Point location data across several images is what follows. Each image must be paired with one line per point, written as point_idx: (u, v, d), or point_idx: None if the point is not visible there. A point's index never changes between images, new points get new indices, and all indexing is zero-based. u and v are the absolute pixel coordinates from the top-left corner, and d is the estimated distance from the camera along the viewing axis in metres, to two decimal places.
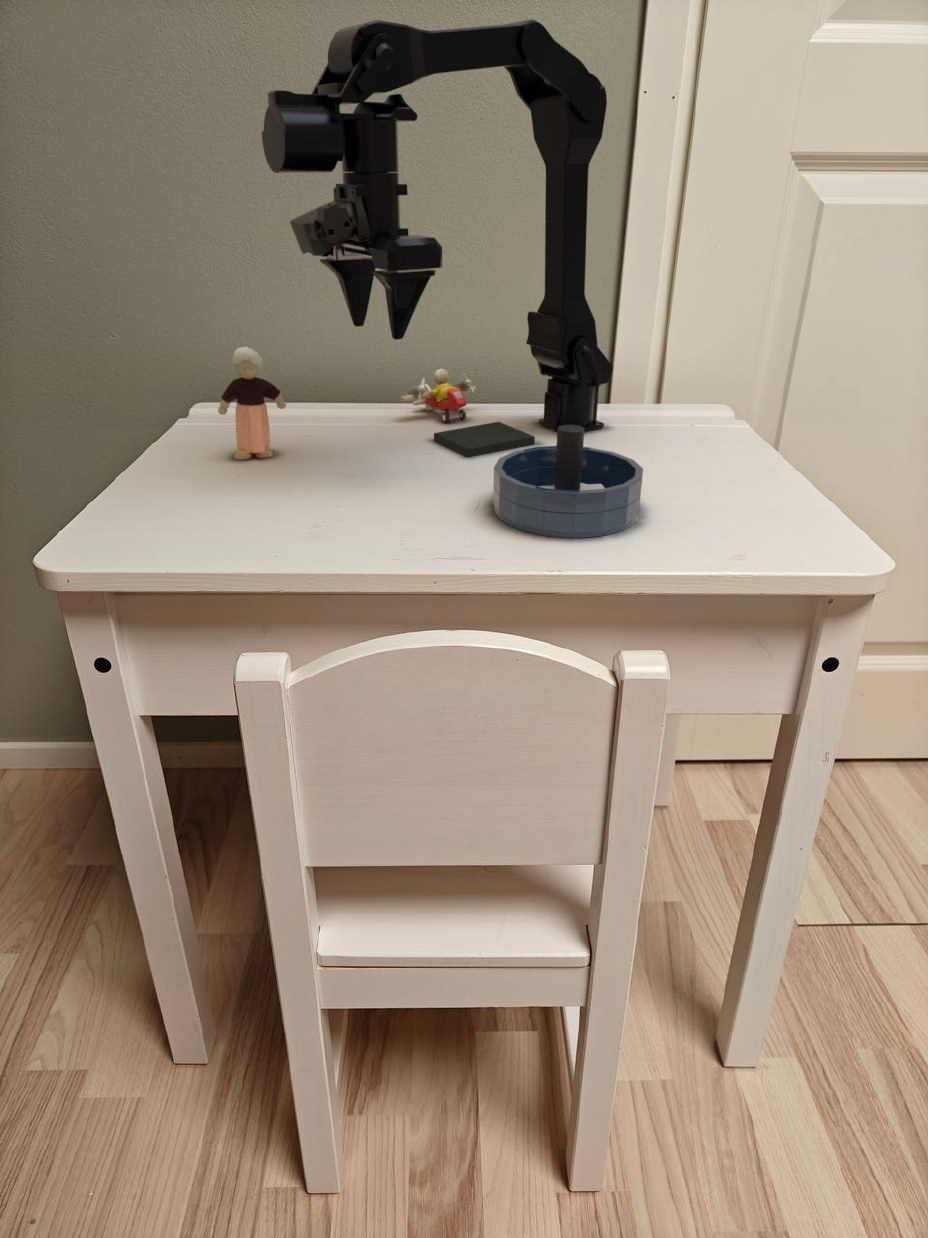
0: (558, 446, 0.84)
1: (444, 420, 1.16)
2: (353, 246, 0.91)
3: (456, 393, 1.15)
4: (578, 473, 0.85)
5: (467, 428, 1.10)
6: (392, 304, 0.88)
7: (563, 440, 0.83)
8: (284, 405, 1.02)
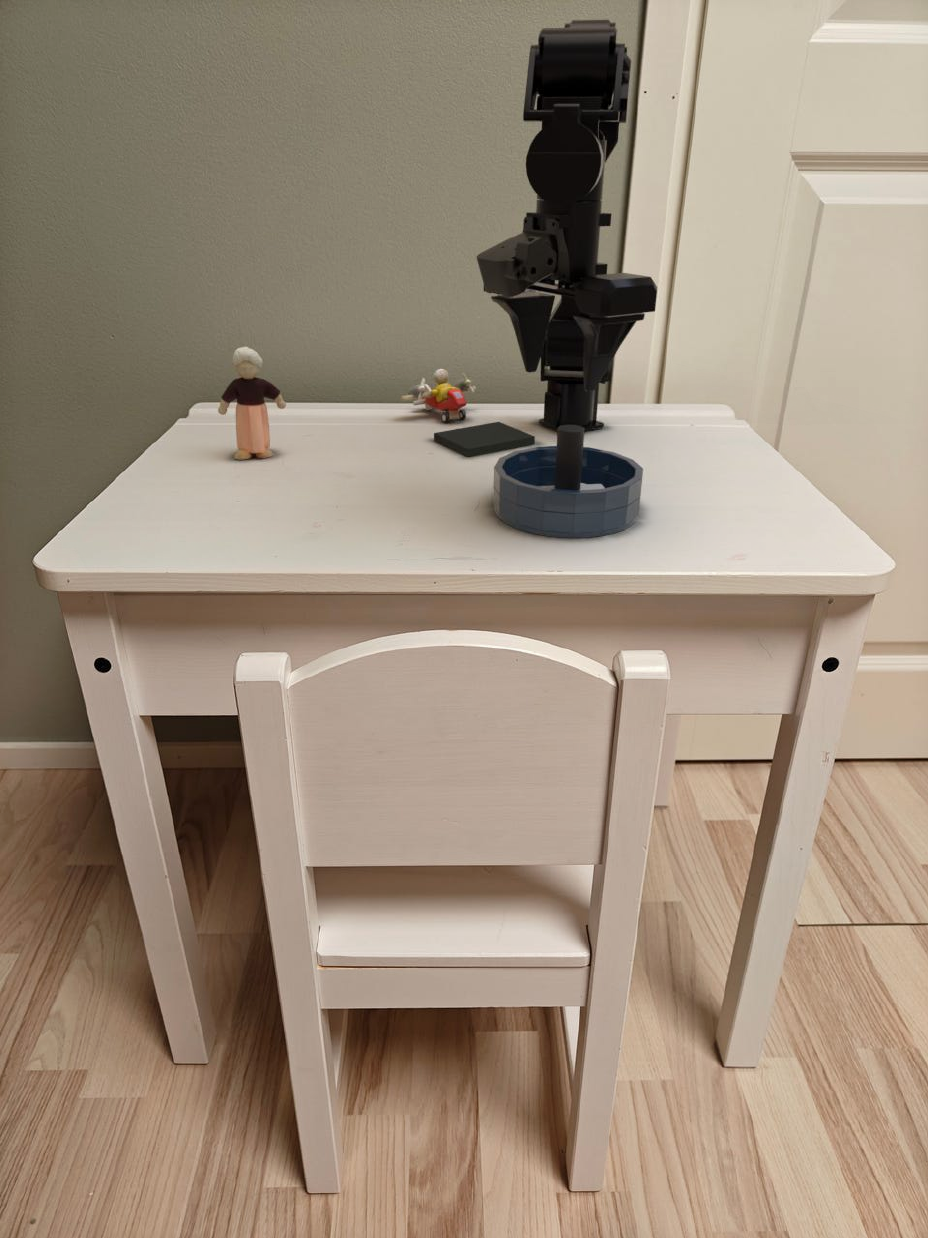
0: (558, 446, 0.84)
1: (444, 420, 1.16)
2: (540, 284, 0.79)
3: (456, 393, 1.15)
4: (578, 473, 0.85)
5: (467, 428, 1.10)
6: (592, 352, 0.76)
7: (563, 440, 0.83)
8: (284, 405, 1.02)
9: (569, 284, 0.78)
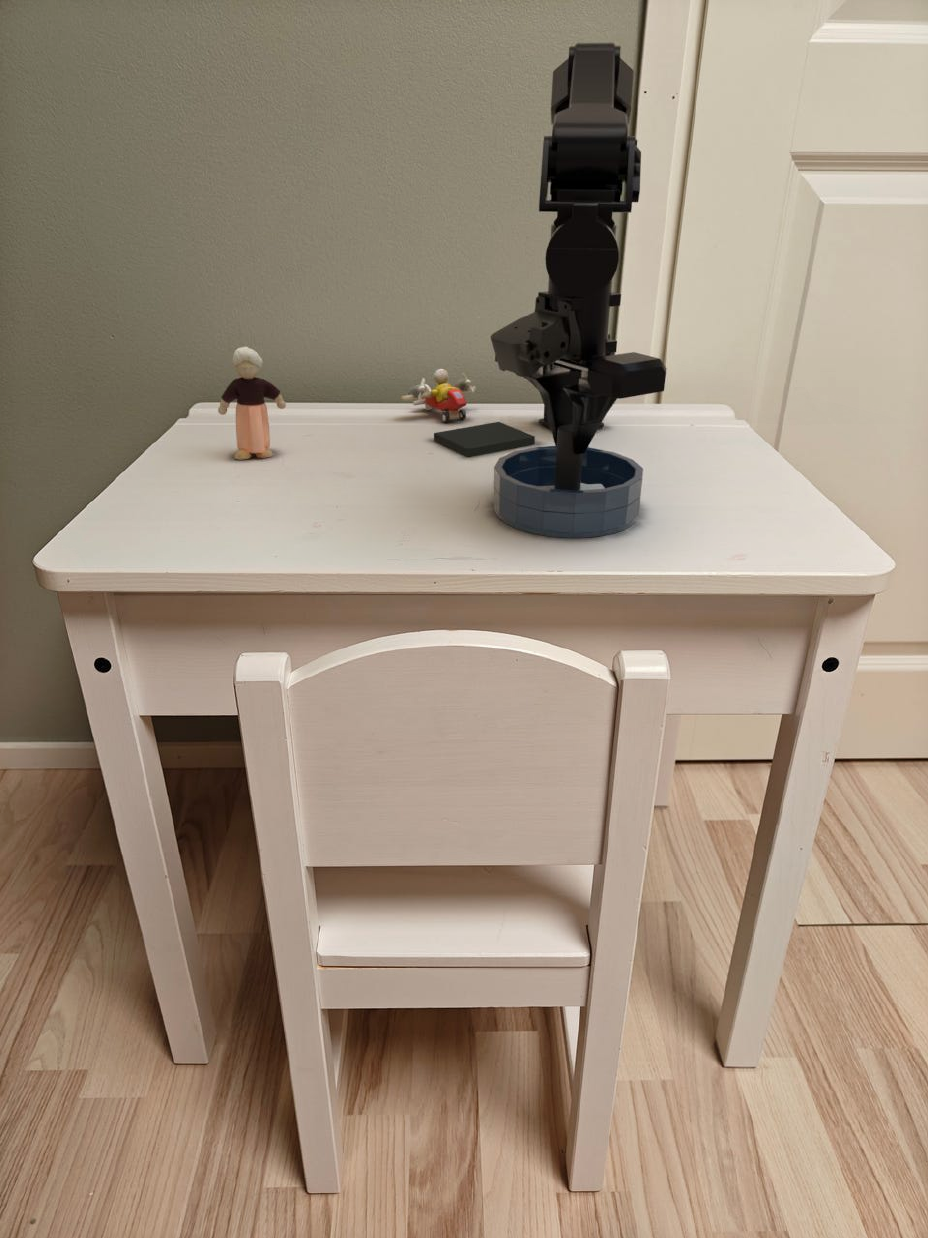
0: (558, 446, 0.84)
1: (444, 420, 1.16)
2: (573, 365, 0.79)
3: (456, 393, 1.15)
4: (578, 473, 0.85)
5: (467, 428, 1.10)
6: (580, 420, 0.81)
7: (563, 440, 0.83)
8: (284, 405, 1.02)
9: None
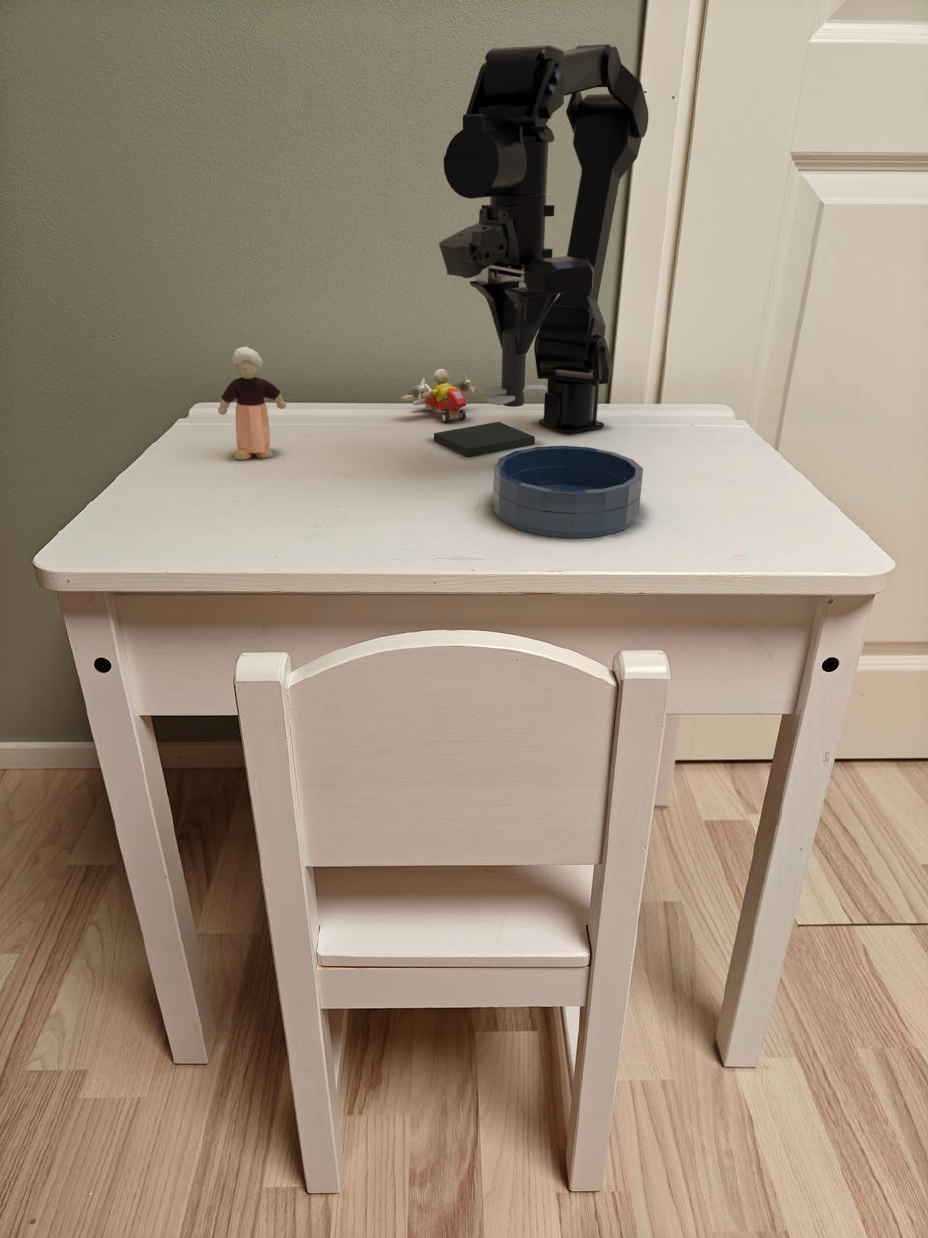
0: (503, 347, 0.94)
1: (444, 420, 1.16)
2: (513, 270, 0.89)
3: (456, 393, 1.15)
4: (522, 372, 0.95)
5: (467, 428, 1.10)
6: (521, 321, 0.91)
7: (507, 342, 0.93)
8: (284, 405, 1.02)
9: None
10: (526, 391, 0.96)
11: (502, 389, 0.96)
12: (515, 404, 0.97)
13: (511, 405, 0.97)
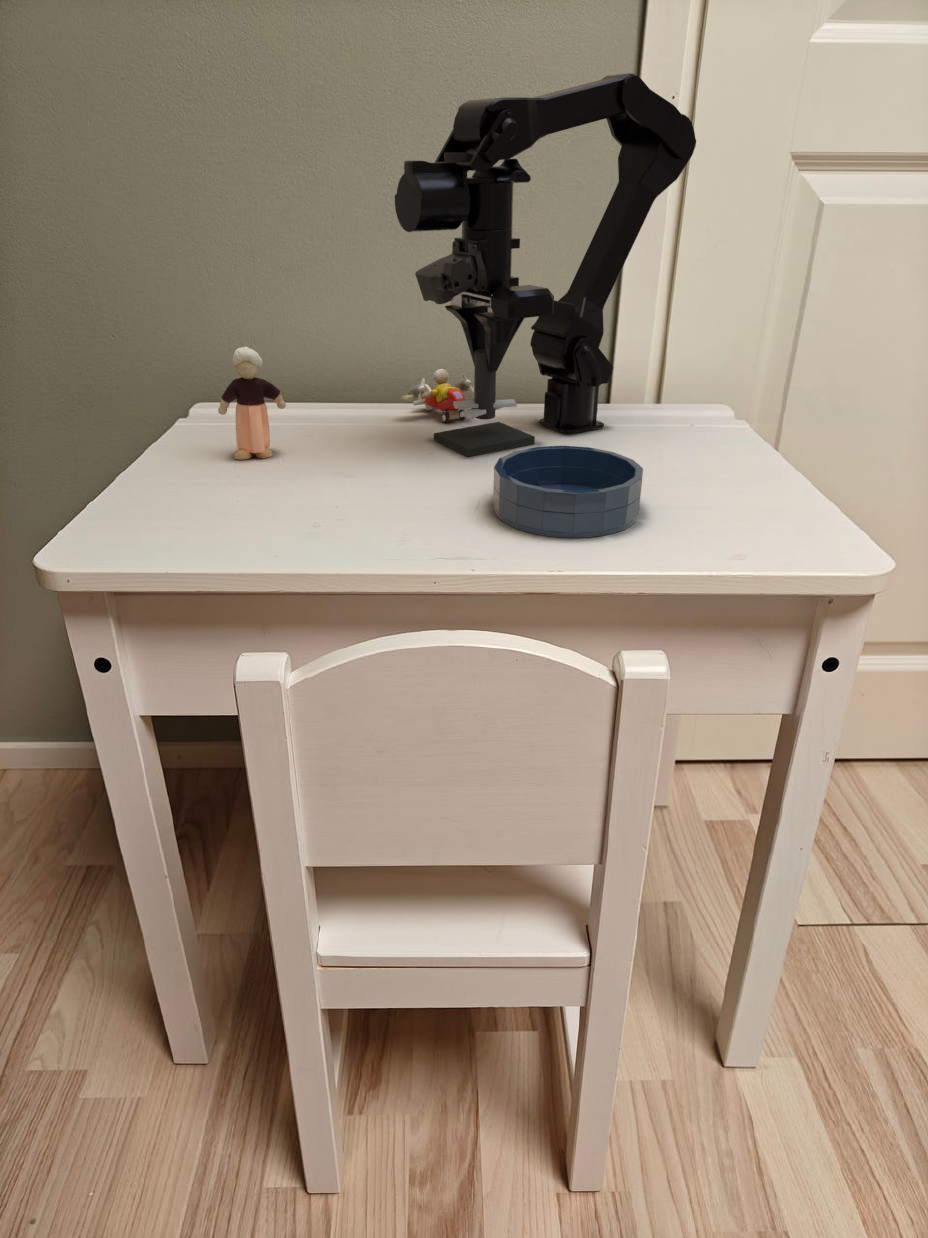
0: (475, 366, 1.04)
1: (444, 420, 1.16)
2: (482, 296, 0.98)
3: (456, 393, 1.15)
4: (492, 388, 1.04)
5: (467, 428, 1.10)
6: (490, 342, 1.00)
7: (478, 360, 1.03)
8: (284, 405, 1.02)
9: None
10: (496, 405, 1.06)
11: (474, 403, 1.05)
12: (486, 417, 1.06)
13: (482, 418, 1.06)
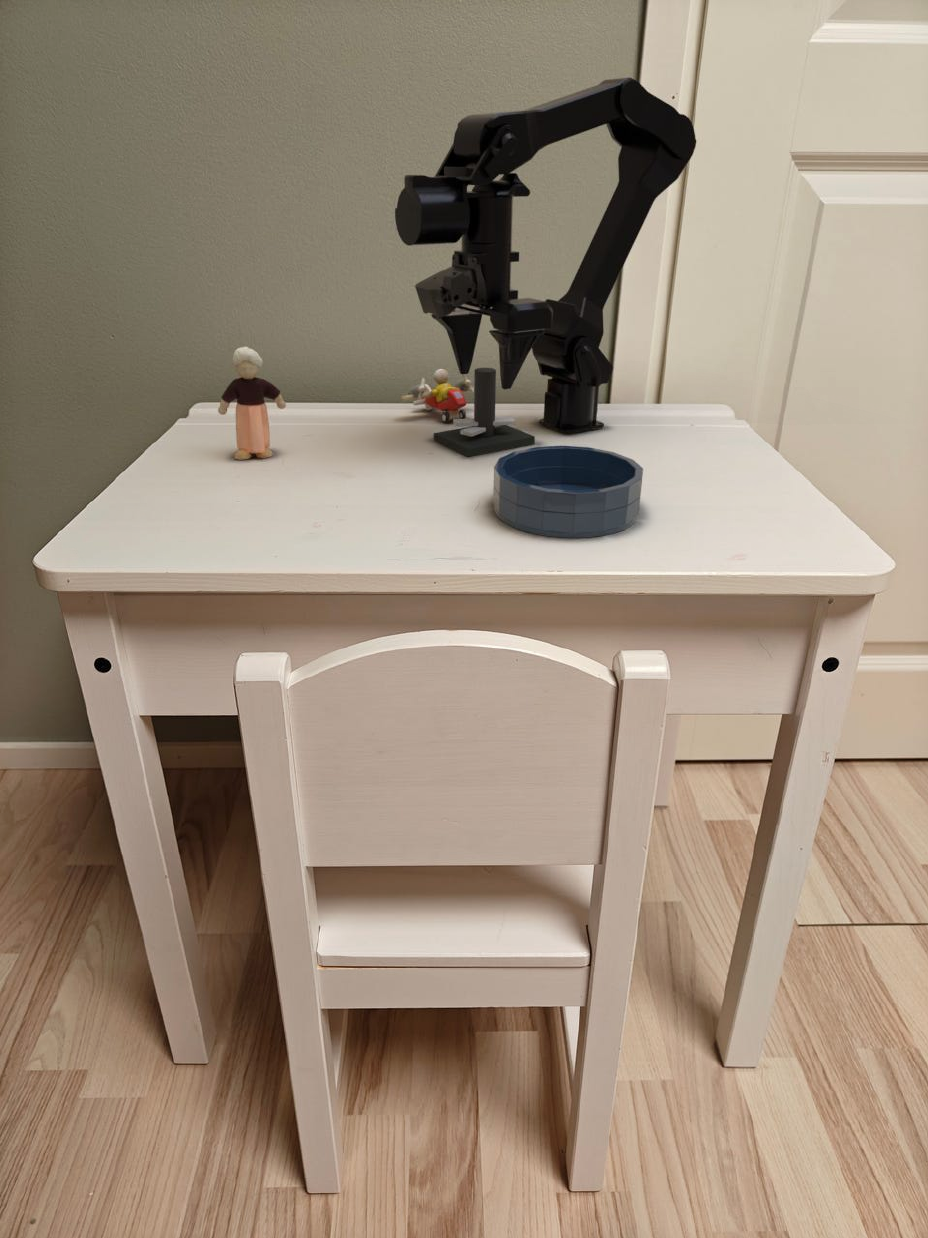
0: (475, 384, 1.05)
1: (444, 420, 1.16)
2: (467, 305, 1.01)
3: (456, 393, 1.15)
4: (492, 407, 1.05)
5: None
6: (505, 359, 0.98)
7: (478, 379, 1.04)
8: (284, 405, 1.02)
9: (489, 306, 1.00)
10: (496, 423, 1.07)
11: (474, 421, 1.06)
12: (486, 435, 1.07)
13: (482, 436, 1.07)
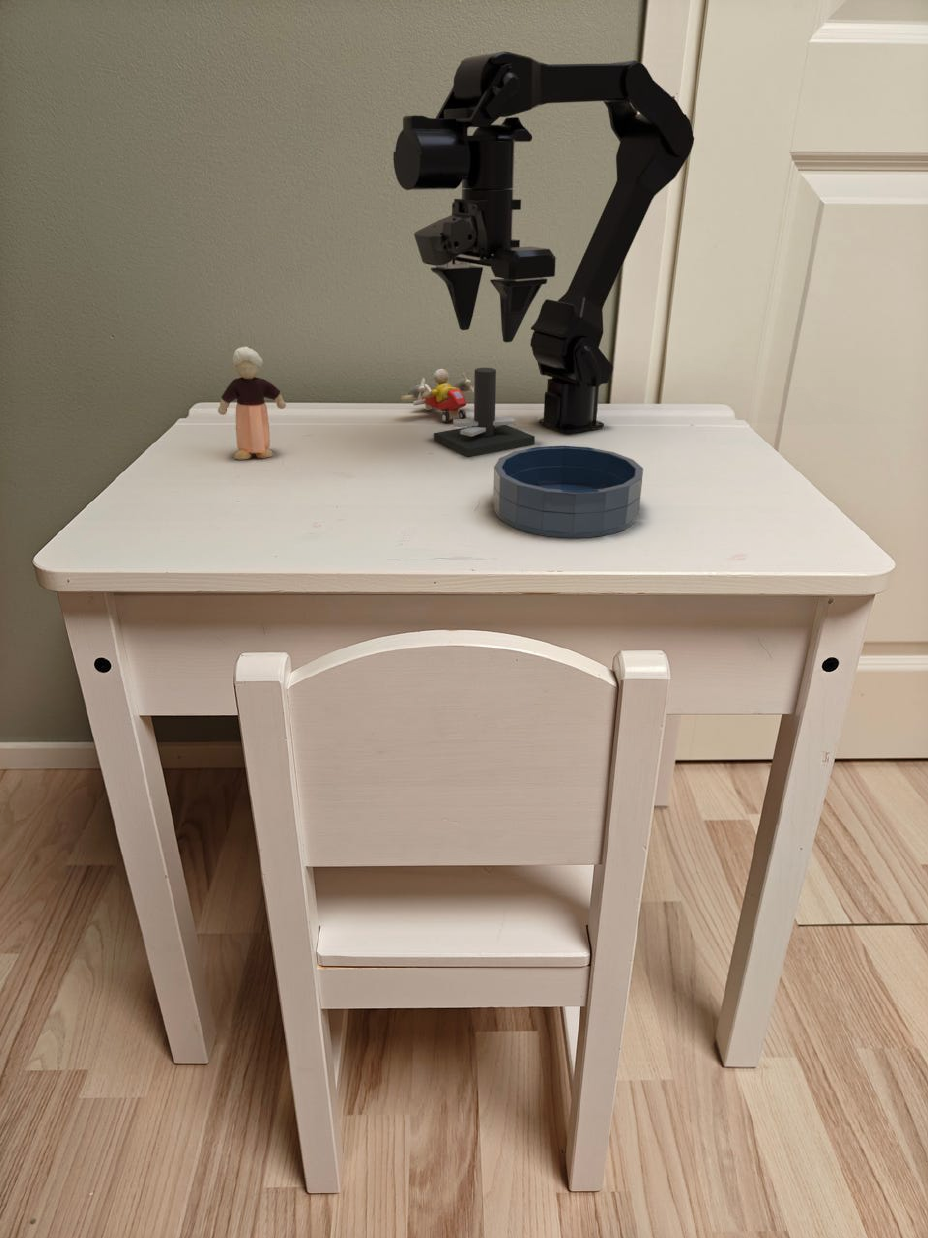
0: (475, 384, 1.05)
1: (444, 420, 1.16)
2: (467, 256, 0.98)
3: (456, 393, 1.15)
4: (492, 407, 1.05)
5: None
6: (506, 310, 0.96)
7: (478, 379, 1.04)
8: (284, 405, 1.02)
9: (490, 256, 0.98)
10: (496, 423, 1.07)
11: (474, 421, 1.06)
12: (486, 435, 1.07)
13: (482, 436, 1.07)
